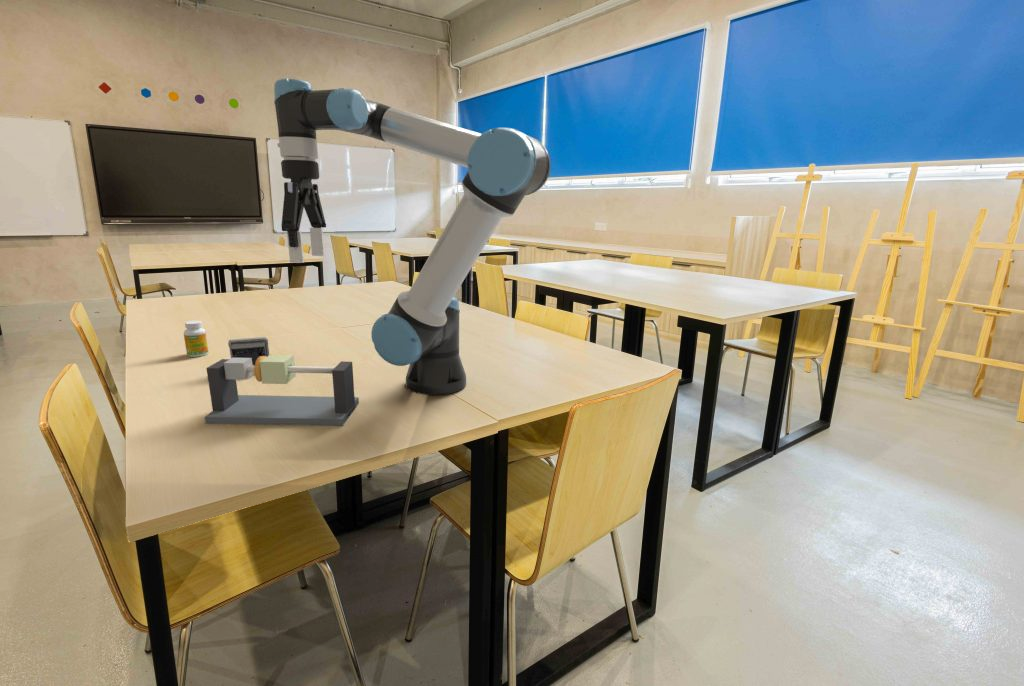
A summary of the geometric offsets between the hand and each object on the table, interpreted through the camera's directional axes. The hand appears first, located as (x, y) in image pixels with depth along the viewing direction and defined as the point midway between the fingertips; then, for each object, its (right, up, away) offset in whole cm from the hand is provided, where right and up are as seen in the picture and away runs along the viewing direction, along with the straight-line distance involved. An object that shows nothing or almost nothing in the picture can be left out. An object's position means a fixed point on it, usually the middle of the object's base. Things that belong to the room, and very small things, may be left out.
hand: (308, 259), depth 116 cm
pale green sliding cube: (-3, -27, -7) cm, 28 cm away
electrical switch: (-23, -27, +20) cm, 41 cm away
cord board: (-3, -34, -5) cm, 35 cm away
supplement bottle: (-45, -23, +32) cm, 60 cm away
